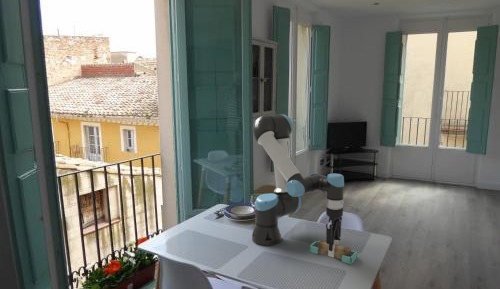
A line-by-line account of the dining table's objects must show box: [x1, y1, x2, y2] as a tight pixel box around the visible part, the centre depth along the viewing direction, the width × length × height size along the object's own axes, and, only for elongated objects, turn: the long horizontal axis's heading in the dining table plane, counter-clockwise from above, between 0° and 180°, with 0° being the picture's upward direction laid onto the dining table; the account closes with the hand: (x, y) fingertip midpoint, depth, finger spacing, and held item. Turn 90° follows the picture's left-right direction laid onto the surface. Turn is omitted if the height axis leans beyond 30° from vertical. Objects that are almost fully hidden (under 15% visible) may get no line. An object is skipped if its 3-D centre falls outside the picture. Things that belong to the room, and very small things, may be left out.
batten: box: [317, 239, 352, 261], centre depth 167 cm, size 15×4×5 cm, turn 53°
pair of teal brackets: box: [308, 240, 358, 265], centre depth 167 cm, size 21×8×3 cm, turn 54°
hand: (333, 254), depth 167 cm, fingers closed on batten, 4 cm apart
